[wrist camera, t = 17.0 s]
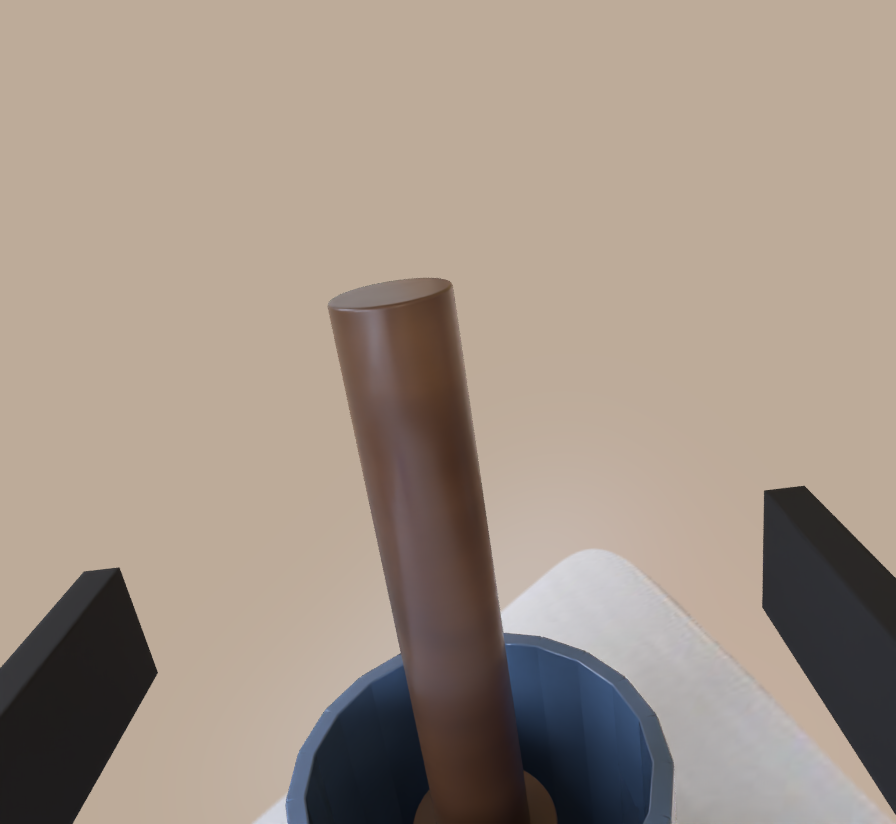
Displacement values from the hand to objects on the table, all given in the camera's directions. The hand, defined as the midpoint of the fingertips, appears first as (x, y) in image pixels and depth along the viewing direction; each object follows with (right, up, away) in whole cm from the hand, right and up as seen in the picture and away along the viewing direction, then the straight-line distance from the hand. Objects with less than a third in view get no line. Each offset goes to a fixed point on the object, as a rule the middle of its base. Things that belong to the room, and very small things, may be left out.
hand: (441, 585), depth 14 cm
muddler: (+2, -13, +6) cm, 14 cm away
